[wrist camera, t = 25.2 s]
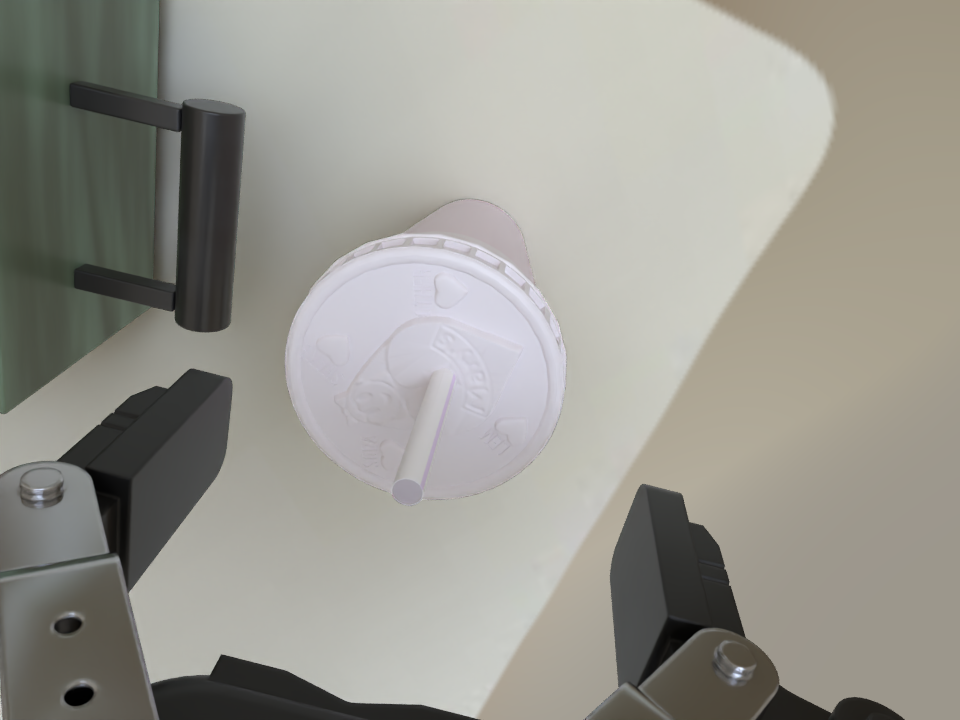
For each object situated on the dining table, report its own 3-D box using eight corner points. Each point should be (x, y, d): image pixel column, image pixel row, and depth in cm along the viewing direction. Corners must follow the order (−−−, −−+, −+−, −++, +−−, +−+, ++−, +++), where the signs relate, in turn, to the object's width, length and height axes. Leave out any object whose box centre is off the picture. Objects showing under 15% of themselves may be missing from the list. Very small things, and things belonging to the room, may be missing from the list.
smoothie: (594, 305, 26) (621, 594, 13) (425, 364, 27) (306, 673, 15) (523, 124, 24) (475, 267, 11) (344, 201, 25) (121, 402, 13)
